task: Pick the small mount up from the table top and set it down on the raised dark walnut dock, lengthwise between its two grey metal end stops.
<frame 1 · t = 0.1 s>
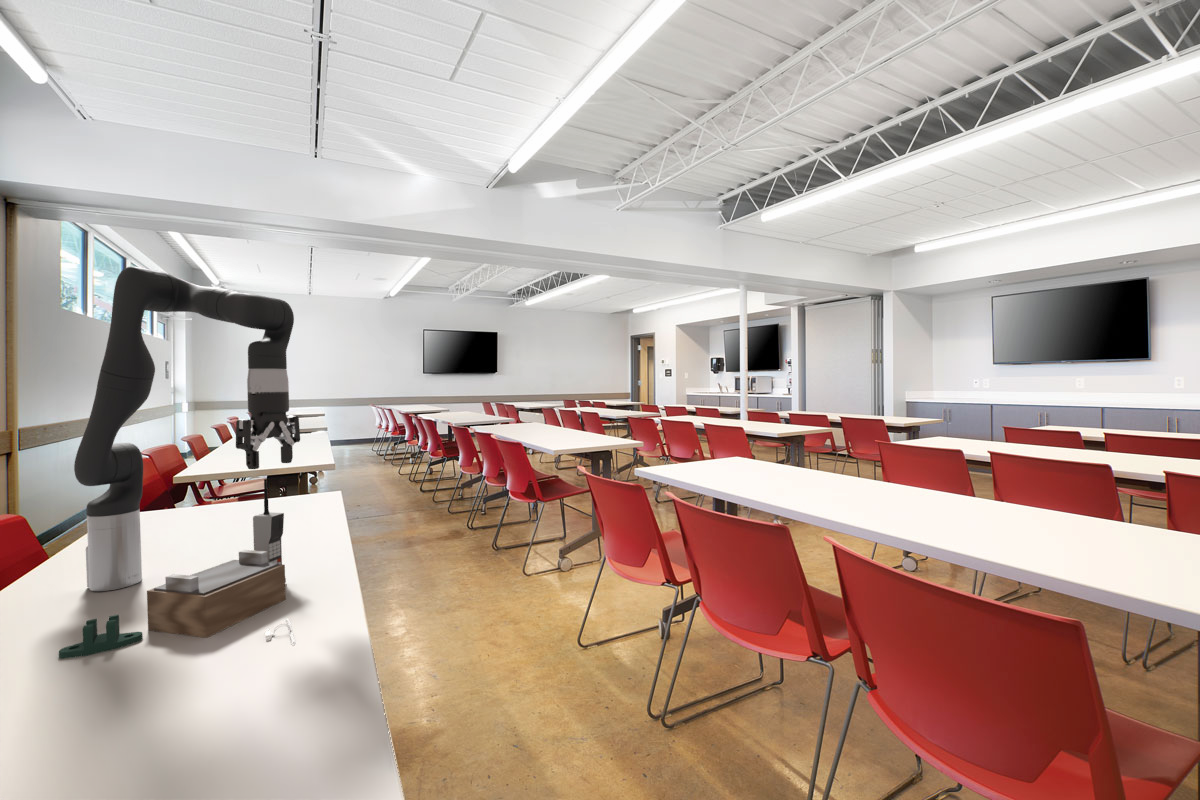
hand: (270, 465, 115), 29 cm above the table, fingers open, 8 cm apart
vintage mobile phone: (270, 586, 124), on the table
dock: (221, 613, 109), on the table
mount: (102, 649, 95), on the table
picture light: (279, 637, 99), on the table
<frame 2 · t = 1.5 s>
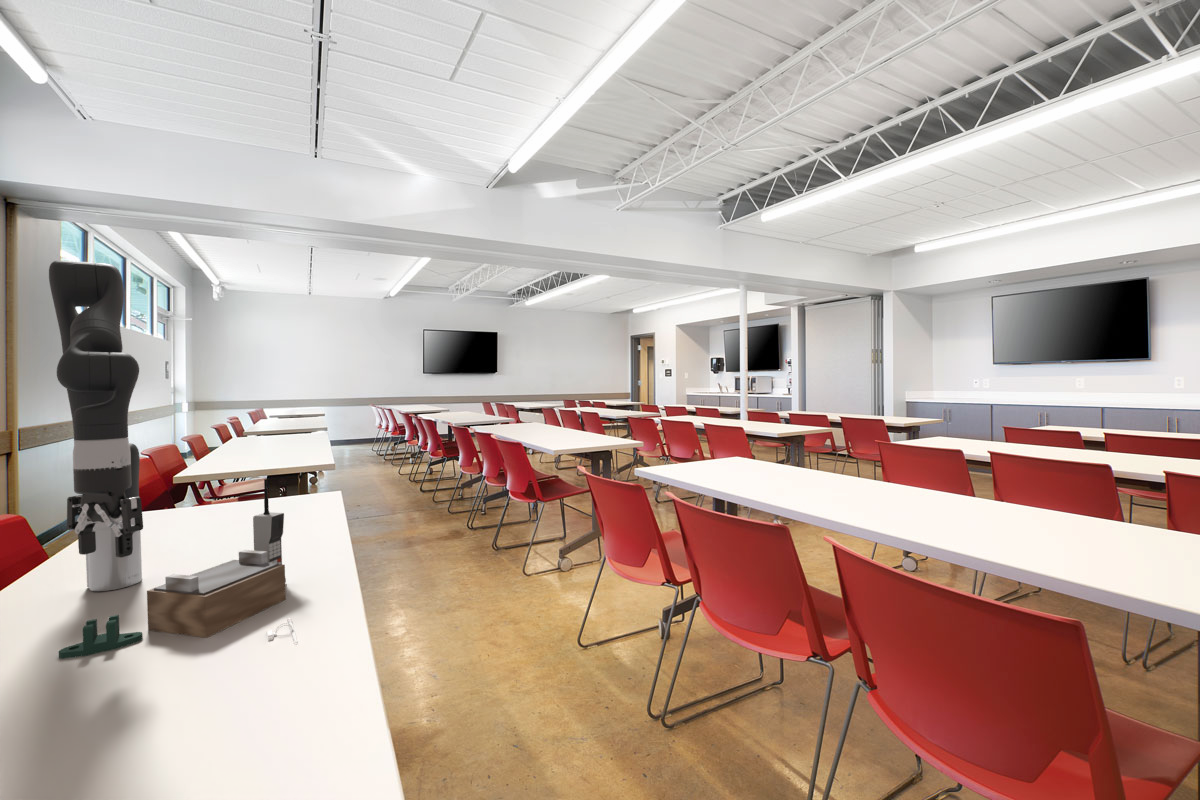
hand: (105, 554, 95), 16 cm above the table, fingers open, 8 cm apart
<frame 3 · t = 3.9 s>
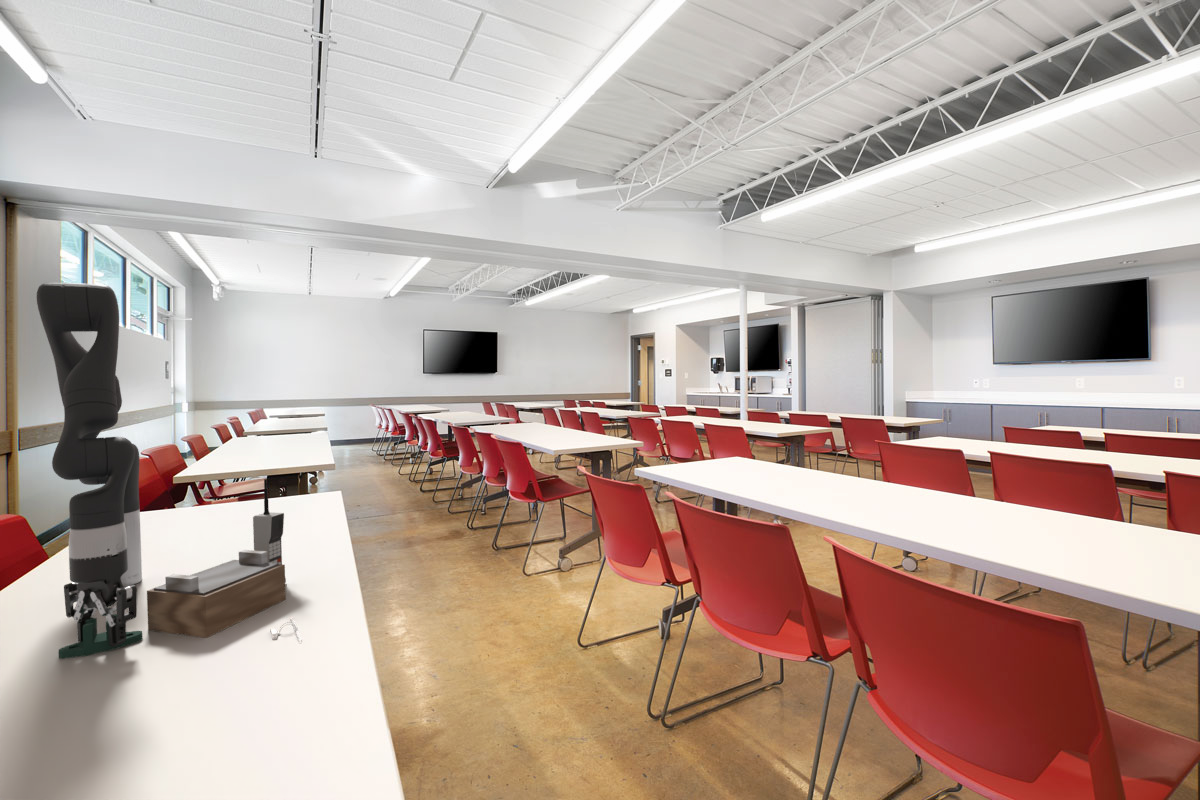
hand: (102, 642, 95), 1 cm above the table, fingers closed on mount, 7 cm apart
mount: (102, 648, 95), on the table, touching gripper
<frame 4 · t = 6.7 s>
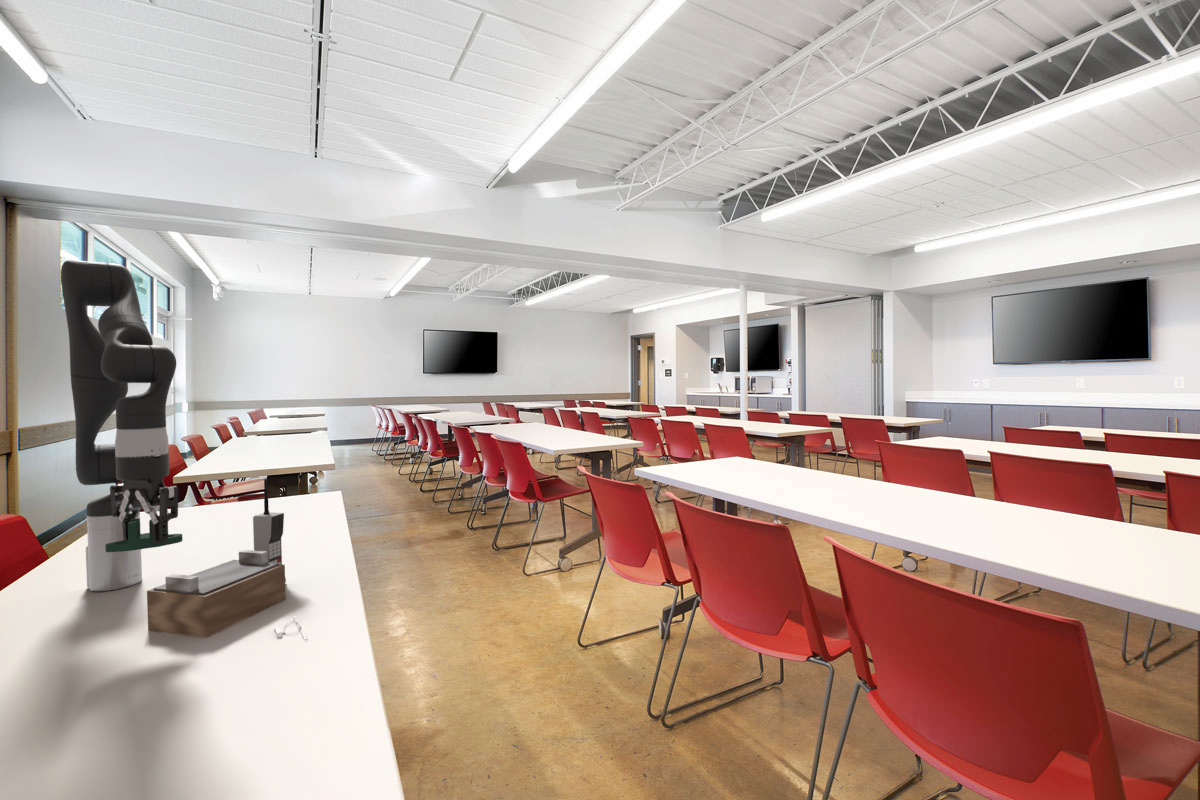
hand: (145, 540, 99), 18 cm above the table, fingers closed on mount, 7 cm apart
mount: (145, 546, 99), point 16 cm above the table, touching gripper
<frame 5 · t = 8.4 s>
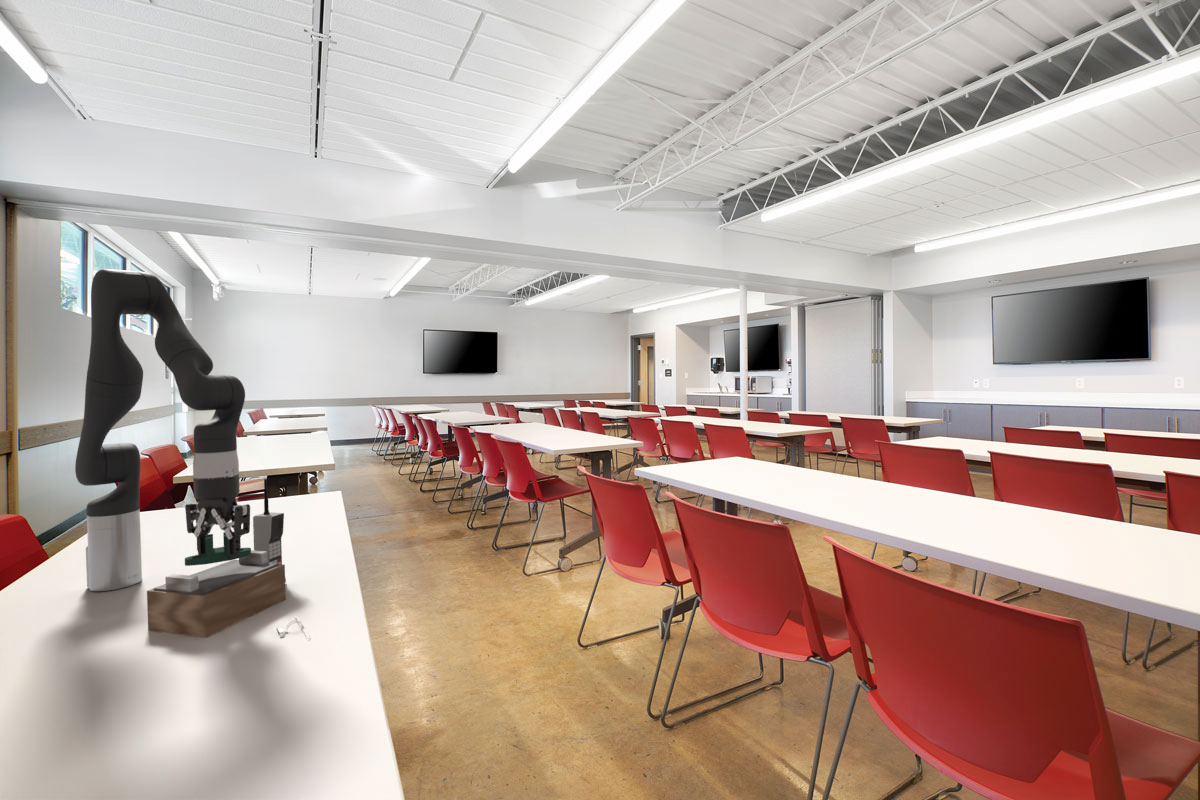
hand: (219, 554, 108), 12 cm above the table, fingers closed on mount, 7 cm apart
mount: (218, 560, 108), point 11 cm above the table, touching gripper
when the fingers open (10 cm above the table, at t = 9.8 s): mount drops 1 cm, resting on dock.
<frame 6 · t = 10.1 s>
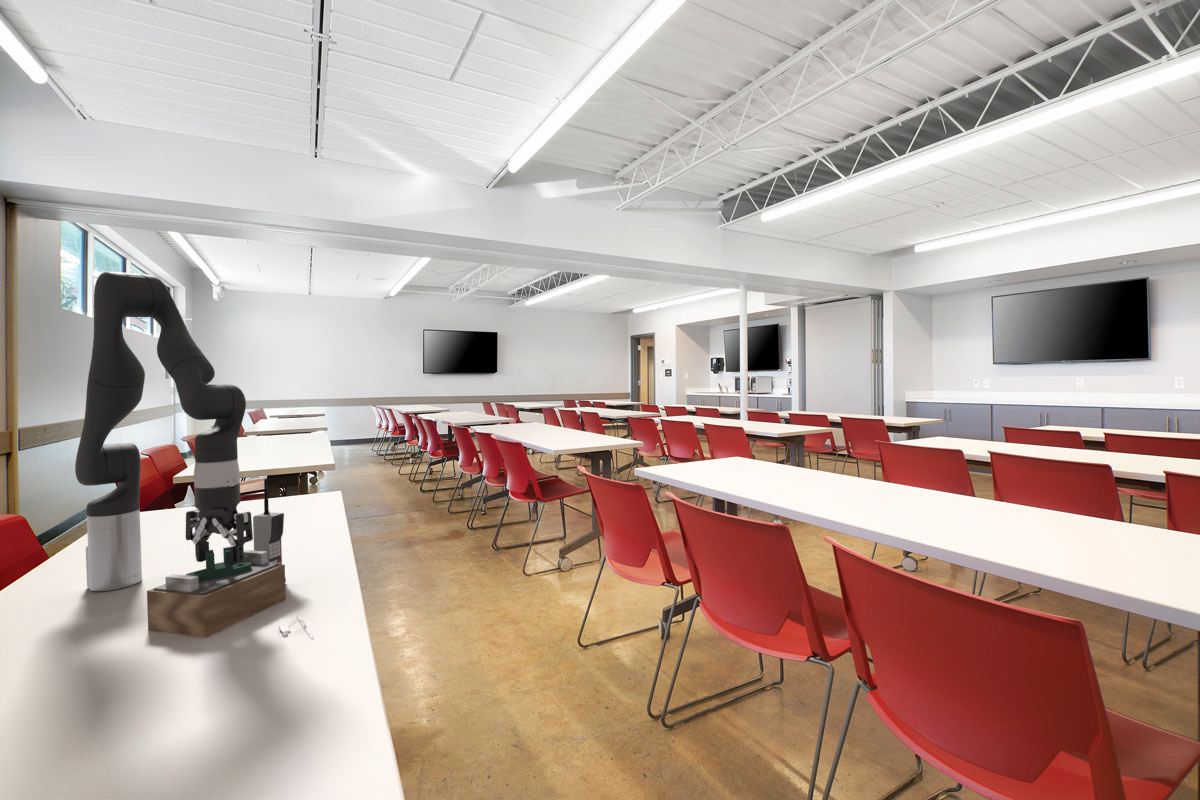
hand: (219, 562, 108), 11 cm above the table, fingers open, 8 cm apart
mount: (219, 575, 108), point 8 cm above the table, touching dock
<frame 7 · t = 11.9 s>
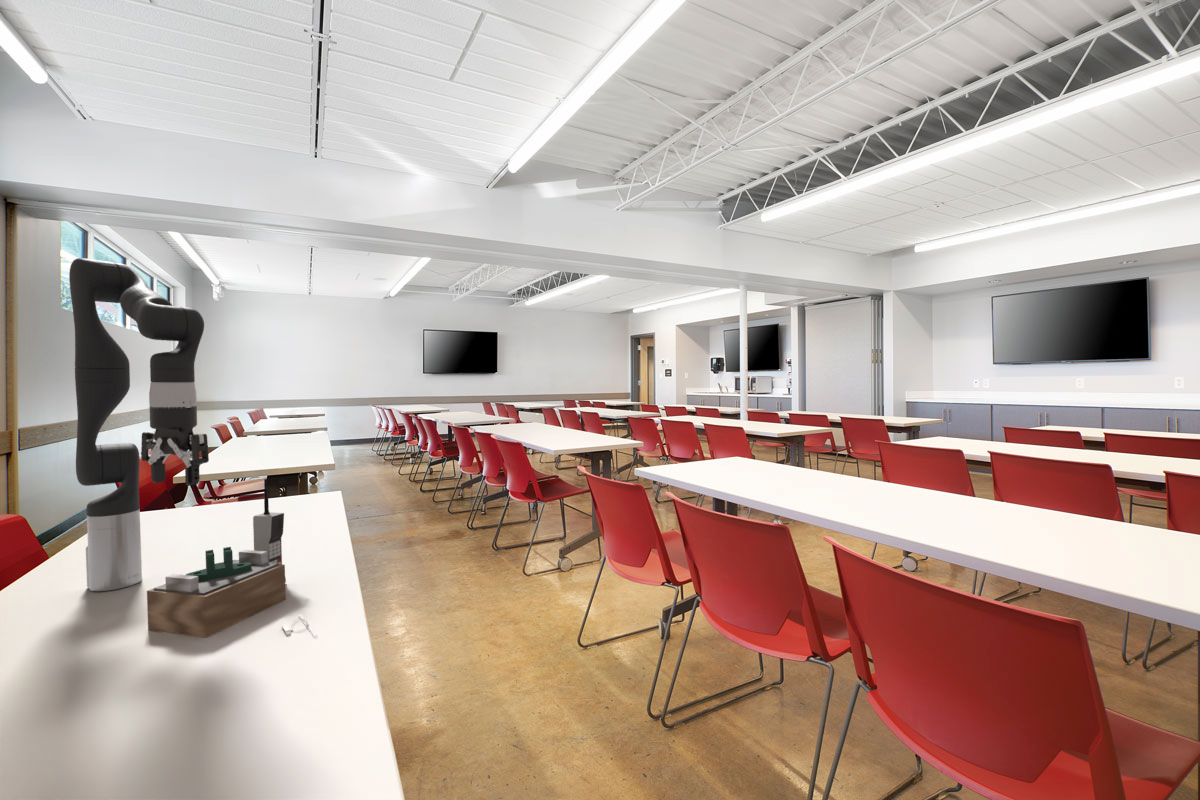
hand: (175, 483, 109), 27 cm above the table, fingers open, 8 cm apart
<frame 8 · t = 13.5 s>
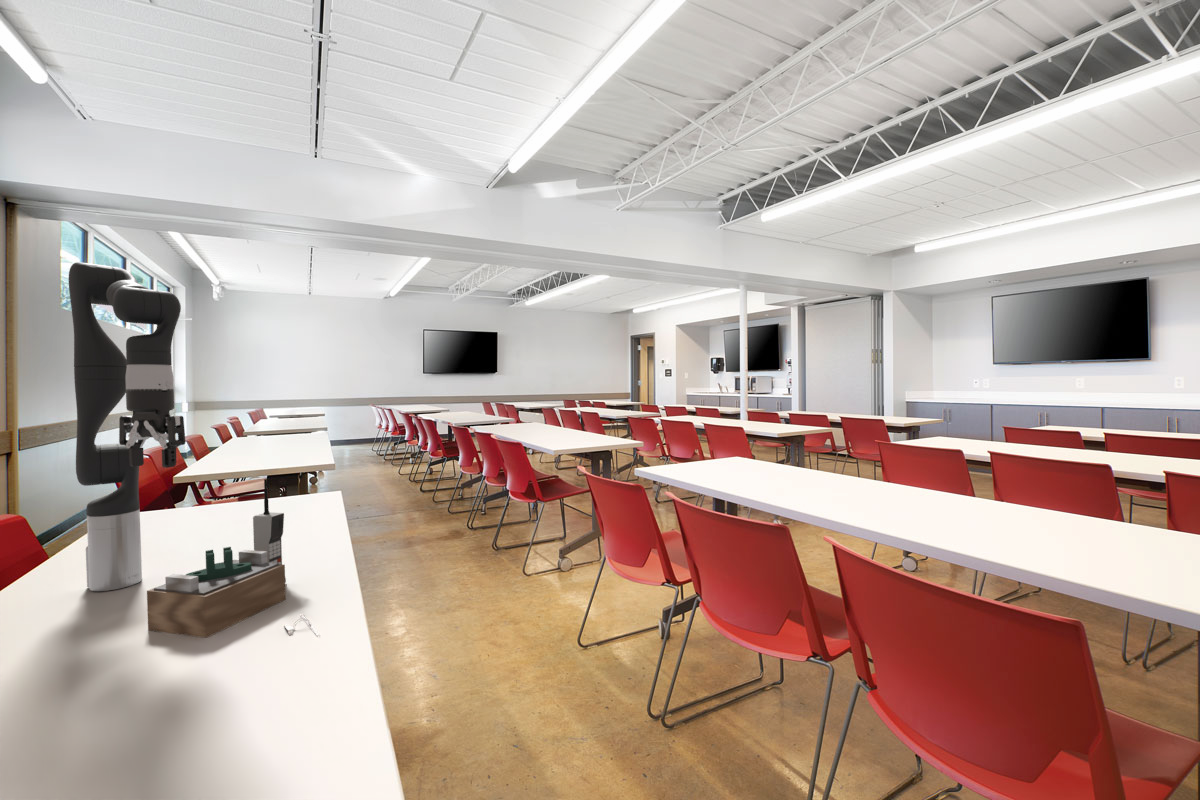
hand: (152, 466, 109), 30 cm above the table, fingers open, 8 cm apart
at the end: mount 0.2 cm off-centre on the dock, point 7.8 cm above the dock's base; mount tilted 0°; the gripper is holding nothing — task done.
